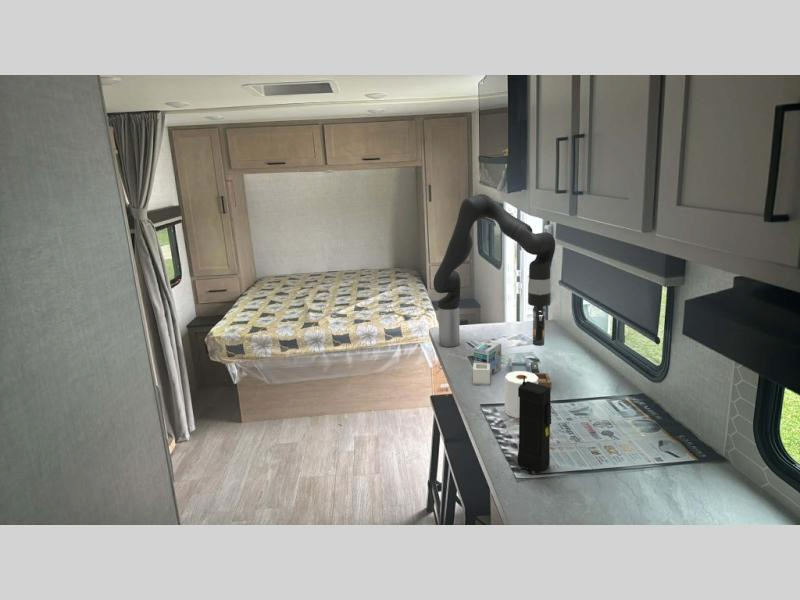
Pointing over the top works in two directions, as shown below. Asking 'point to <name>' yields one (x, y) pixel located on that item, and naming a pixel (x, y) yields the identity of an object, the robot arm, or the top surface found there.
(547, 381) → the trough
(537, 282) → the robot arm
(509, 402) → the toilet paper
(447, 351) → the top surface
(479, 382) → the pot
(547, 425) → the portable radio
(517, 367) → the tray
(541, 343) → the cell
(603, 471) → the top surface
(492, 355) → the light bulb box
